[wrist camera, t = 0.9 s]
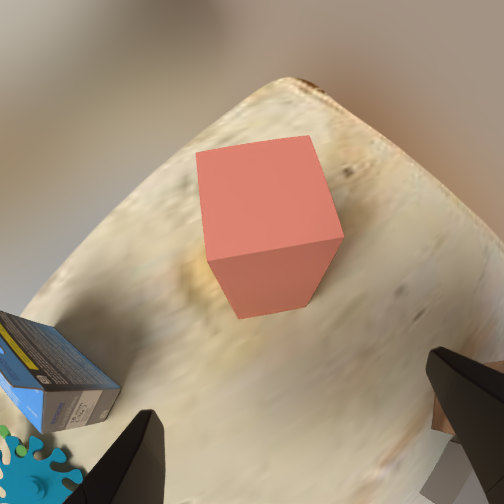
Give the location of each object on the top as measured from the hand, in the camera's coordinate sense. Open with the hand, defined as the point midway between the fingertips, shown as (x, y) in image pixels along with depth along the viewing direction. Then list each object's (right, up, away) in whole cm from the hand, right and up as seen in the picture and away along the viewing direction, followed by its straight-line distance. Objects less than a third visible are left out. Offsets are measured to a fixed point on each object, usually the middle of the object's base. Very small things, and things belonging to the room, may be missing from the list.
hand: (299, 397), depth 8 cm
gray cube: (+15, -14, +8) cm, 22 cm away
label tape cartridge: (-16, -6, +13) cm, 21 cm away
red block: (0, +2, +15) cm, 15 cm away
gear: (-19, -16, +9) cm, 26 cm away
